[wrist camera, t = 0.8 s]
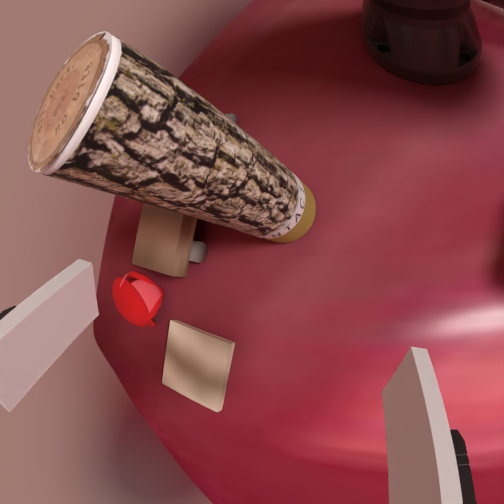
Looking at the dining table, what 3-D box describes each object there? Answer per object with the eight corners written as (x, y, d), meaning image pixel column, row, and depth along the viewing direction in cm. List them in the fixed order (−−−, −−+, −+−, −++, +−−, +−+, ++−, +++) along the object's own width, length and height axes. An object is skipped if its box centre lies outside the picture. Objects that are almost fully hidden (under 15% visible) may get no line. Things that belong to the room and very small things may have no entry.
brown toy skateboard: (188, 123, 40) (166, 109, 36) (239, 118, 36) (218, 101, 32) (156, 265, 40) (129, 262, 36) (205, 279, 36) (178, 278, 32)
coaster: (175, 319, 37) (170, 320, 37) (235, 342, 33) (230, 343, 32) (167, 381, 37) (161, 383, 37) (221, 409, 33) (217, 412, 32)
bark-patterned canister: (246, 220, 34) (22, 142, 12) (281, 169, 33) (85, 29, 11) (291, 257, 31) (42, 202, 9) (331, 202, 30) (137, 33, 8)
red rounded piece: (116, 267, 39) (96, 304, 36) (131, 261, 35) (107, 303, 32) (161, 298, 43) (143, 334, 40) (180, 295, 39) (161, 336, 36)
